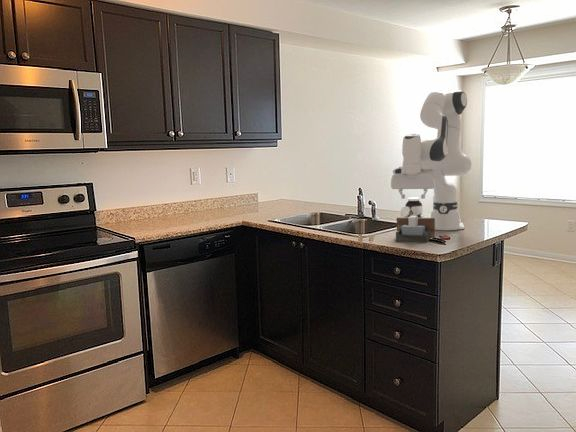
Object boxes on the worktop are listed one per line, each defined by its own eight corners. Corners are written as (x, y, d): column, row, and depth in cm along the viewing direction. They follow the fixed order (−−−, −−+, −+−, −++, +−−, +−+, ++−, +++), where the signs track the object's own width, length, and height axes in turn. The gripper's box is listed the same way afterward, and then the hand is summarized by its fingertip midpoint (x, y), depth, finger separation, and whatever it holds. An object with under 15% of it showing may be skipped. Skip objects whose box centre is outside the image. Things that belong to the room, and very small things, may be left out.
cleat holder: (398, 236, 233) (397, 217, 232) (435, 238, 225) (434, 218, 223) (392, 241, 225) (391, 220, 223) (430, 242, 216) (430, 221, 214)
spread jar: (424, 216, 293) (423, 197, 292) (416, 218, 285) (416, 199, 283) (406, 215, 301) (405, 197, 299) (398, 217, 292) (398, 199, 290)
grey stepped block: (404, 238, 229) (404, 215, 228) (425, 239, 225) (425, 215, 223) (401, 240, 224) (401, 217, 222) (422, 241, 219) (422, 217, 218)
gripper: (436, 168, 217) (437, 197, 219) (393, 169, 227) (394, 197, 229) (433, 169, 212) (434, 199, 214) (389, 170, 221) (390, 199, 224)
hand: (413, 198), depth 222 cm, fingers open, 8 cm apart
